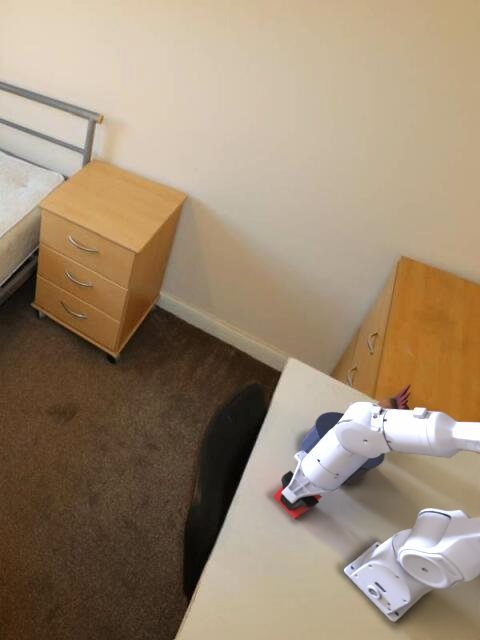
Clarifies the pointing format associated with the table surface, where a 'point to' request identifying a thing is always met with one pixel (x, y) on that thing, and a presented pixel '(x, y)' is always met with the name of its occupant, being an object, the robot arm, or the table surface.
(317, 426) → the pot lid
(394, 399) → the wooden figurine
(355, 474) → the pot
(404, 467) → the table surface
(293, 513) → the block
